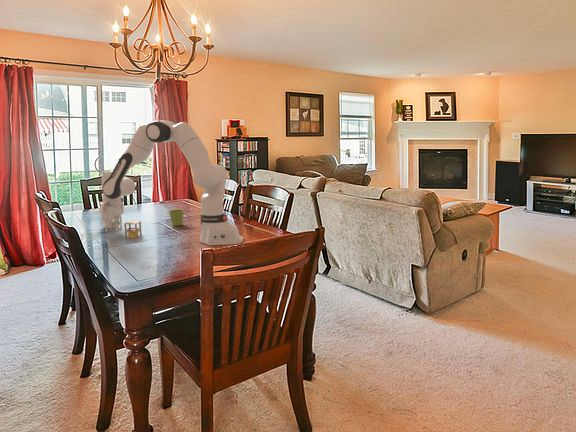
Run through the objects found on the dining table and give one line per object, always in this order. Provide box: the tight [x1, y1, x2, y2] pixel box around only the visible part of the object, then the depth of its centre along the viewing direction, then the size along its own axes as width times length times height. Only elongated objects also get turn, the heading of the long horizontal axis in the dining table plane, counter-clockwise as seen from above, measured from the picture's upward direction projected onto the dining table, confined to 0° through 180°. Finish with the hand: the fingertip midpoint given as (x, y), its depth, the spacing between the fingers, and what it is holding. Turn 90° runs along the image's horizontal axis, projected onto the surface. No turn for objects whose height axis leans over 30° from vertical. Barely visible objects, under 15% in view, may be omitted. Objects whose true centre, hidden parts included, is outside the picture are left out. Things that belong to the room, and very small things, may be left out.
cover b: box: [105, 215, 123, 233], centre depth 235 cm, size 6×6×8 cm
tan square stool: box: [123, 220, 143, 239], centre depth 229 cm, size 6×6×8 cm
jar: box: [99, 201, 116, 229], centre depth 253 cm, size 11×10×15 cm
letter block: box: [127, 229, 140, 239], centre depth 230 cm, size 4×4×4 cm
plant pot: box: [168, 209, 185, 227], centre depth 258 cm, size 9×9×9 cm
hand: (113, 225), depth 236 cm, fingers closed on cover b, 6 cm apart
